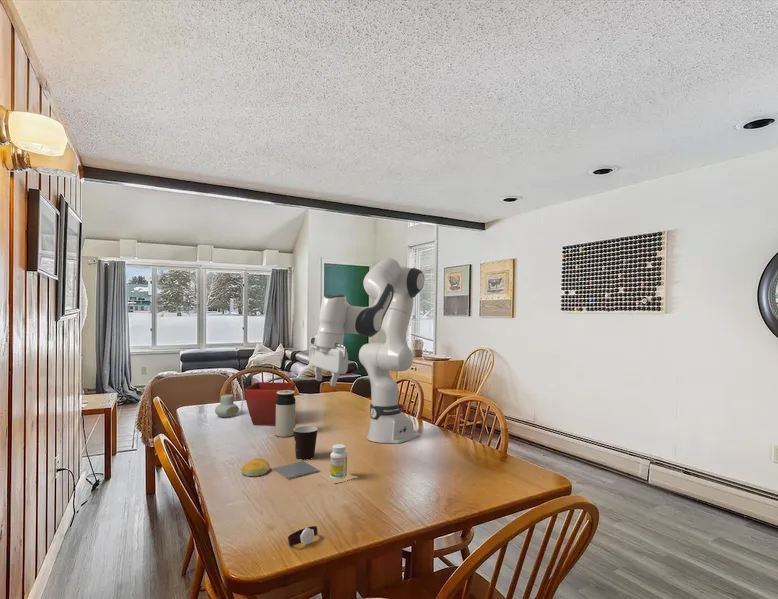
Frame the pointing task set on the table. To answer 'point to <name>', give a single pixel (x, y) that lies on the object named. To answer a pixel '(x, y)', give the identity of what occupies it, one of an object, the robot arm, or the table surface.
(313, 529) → the watch
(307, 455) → the coffee mug
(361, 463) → the table surface
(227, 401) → the air freshener
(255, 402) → the plant pot
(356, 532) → the table surface
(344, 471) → the supplement bottle
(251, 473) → the bread roll
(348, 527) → the table surface
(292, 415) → the travel mug
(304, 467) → the slate coaster
